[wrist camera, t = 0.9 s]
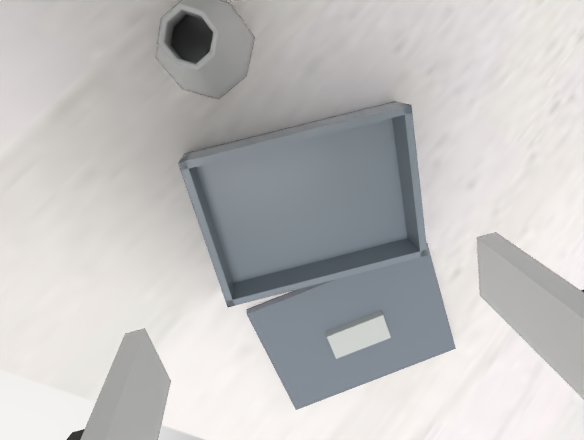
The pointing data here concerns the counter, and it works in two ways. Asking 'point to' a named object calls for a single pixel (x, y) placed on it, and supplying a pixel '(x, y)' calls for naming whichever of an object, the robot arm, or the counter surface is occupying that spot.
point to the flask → (204, 46)
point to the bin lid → (353, 329)
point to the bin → (309, 202)
